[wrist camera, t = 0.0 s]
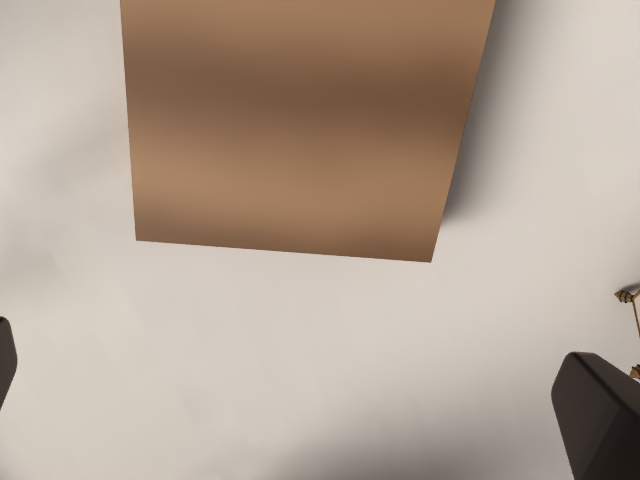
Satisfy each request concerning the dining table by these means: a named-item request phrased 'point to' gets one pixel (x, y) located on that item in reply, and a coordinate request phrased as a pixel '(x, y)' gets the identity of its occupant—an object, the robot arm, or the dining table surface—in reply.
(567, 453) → the robot arm
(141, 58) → the walnut slab
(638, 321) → the wireframe polyhedron model
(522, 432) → the dining table surface
